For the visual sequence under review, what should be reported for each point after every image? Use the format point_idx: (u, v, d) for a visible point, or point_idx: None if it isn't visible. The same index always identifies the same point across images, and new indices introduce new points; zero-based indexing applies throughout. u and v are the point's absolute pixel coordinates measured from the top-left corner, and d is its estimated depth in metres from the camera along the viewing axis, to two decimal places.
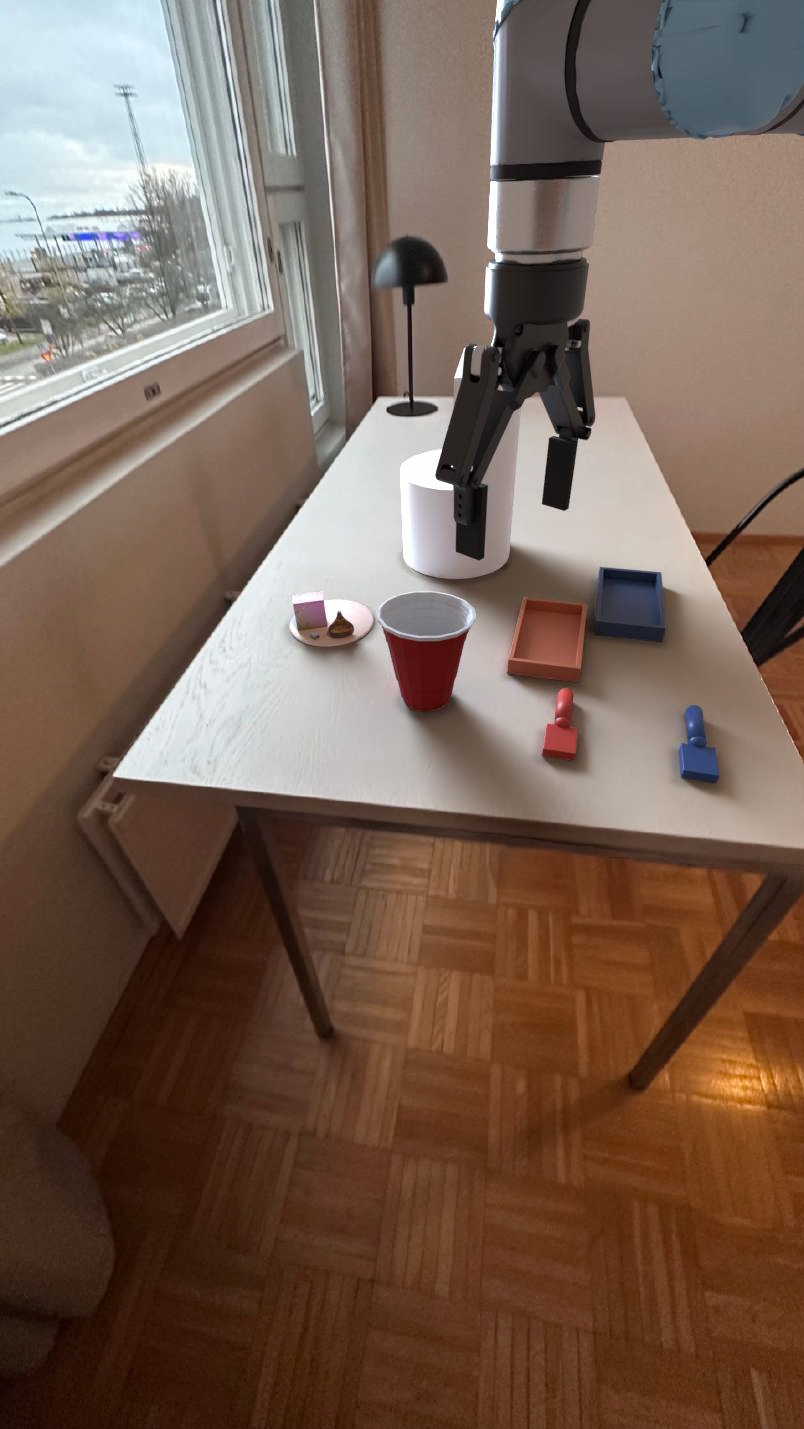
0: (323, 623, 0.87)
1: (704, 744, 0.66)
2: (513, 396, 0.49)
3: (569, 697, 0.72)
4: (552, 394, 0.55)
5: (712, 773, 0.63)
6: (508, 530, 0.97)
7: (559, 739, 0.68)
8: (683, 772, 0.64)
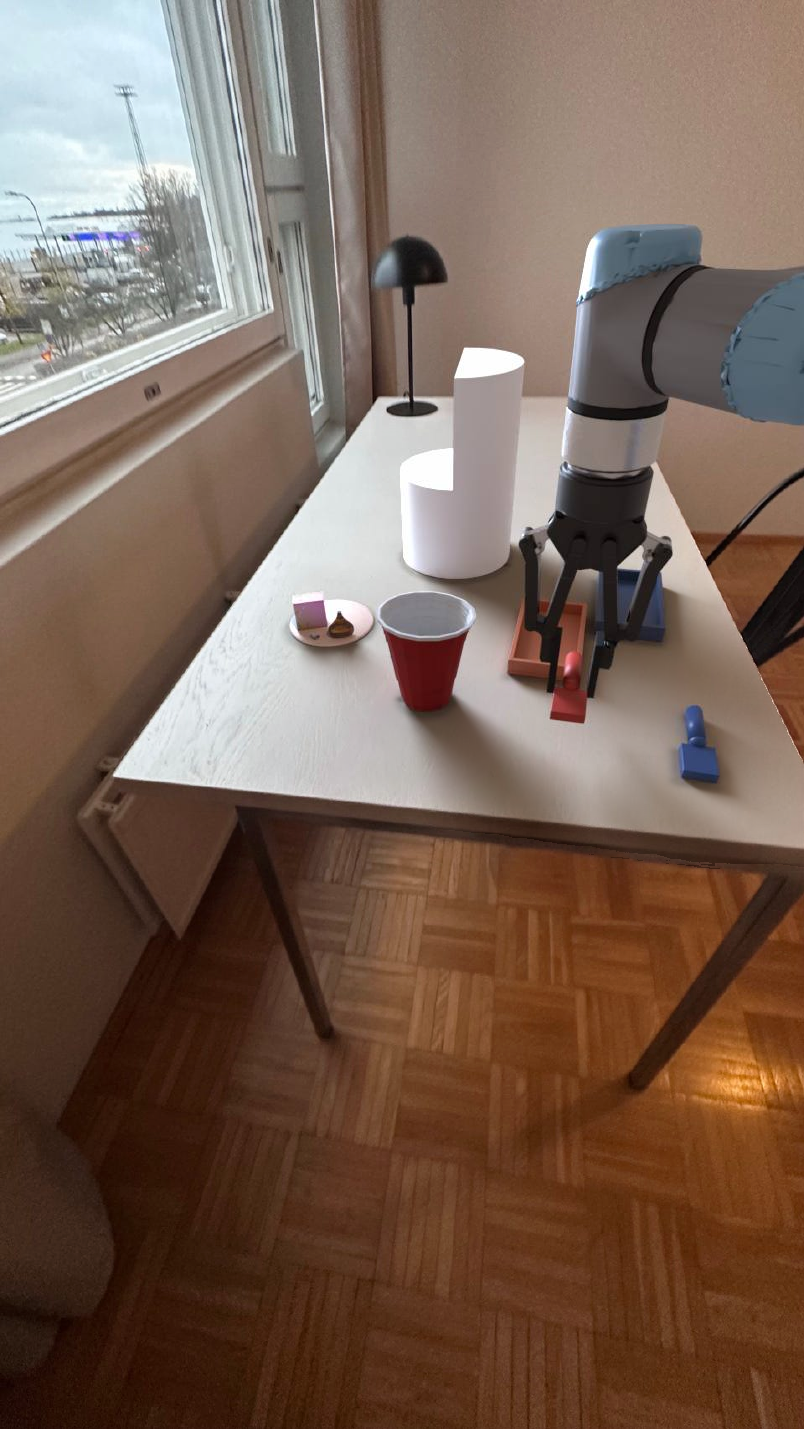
0: (323, 623, 0.87)
1: (704, 744, 0.66)
2: (561, 573, 0.57)
3: (578, 660, 0.68)
4: None
5: (712, 773, 0.63)
6: (508, 530, 0.97)
7: (568, 702, 0.64)
8: (683, 772, 0.64)
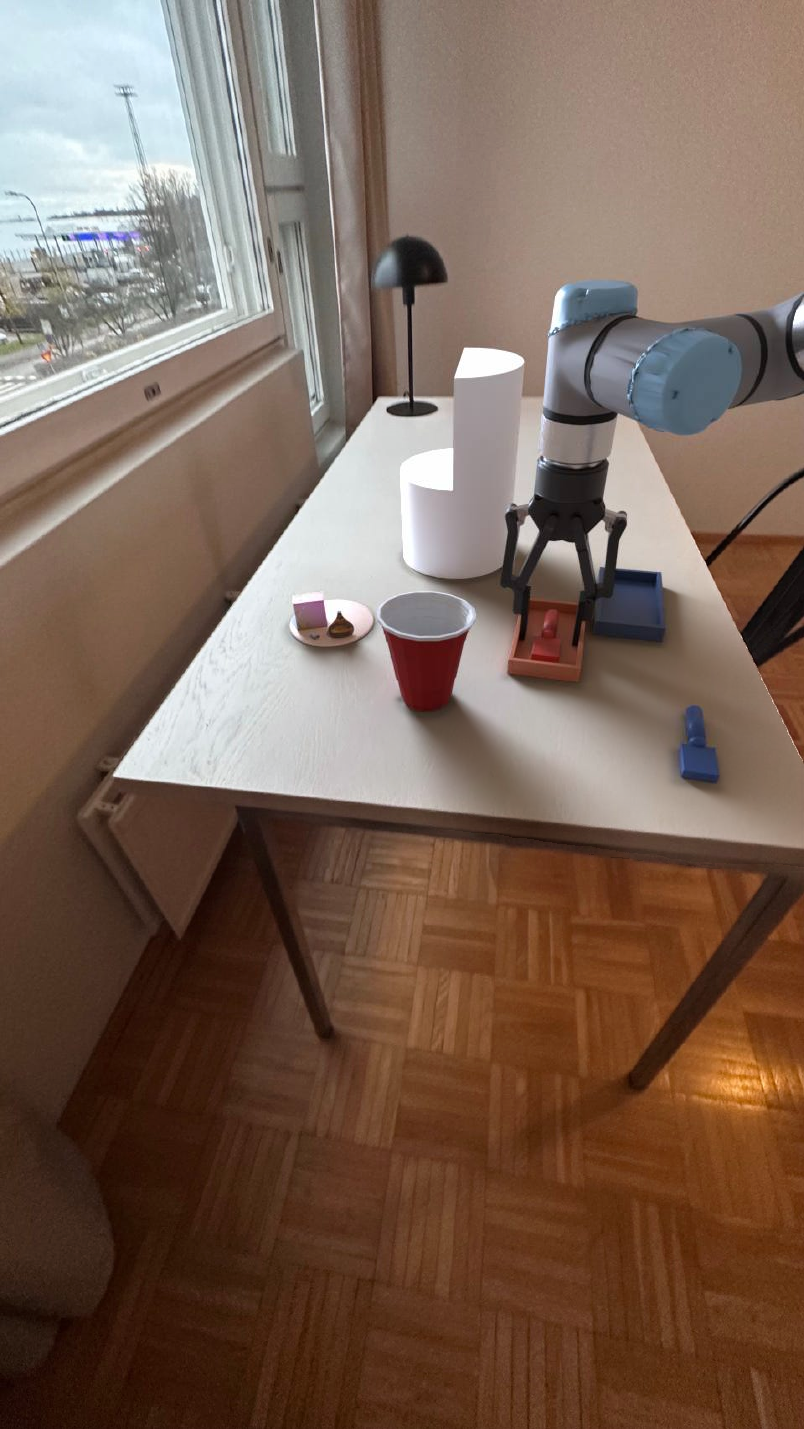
0: (323, 623, 0.87)
1: (704, 744, 0.66)
2: (536, 542, 0.73)
3: (555, 615, 0.84)
4: None
5: (712, 773, 0.63)
6: None
7: (545, 647, 0.80)
8: (683, 772, 0.64)
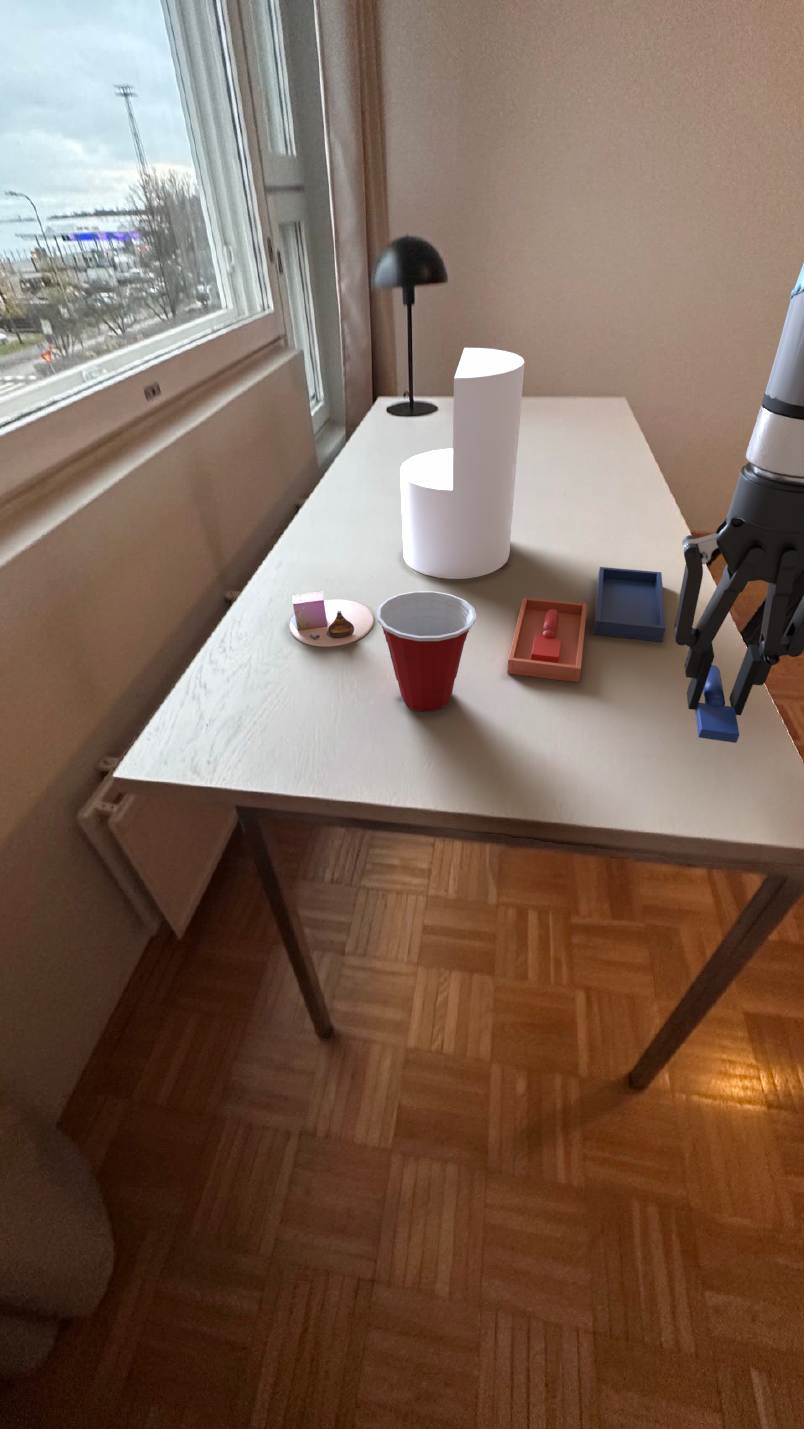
0: (323, 623, 0.87)
1: (722, 703, 0.62)
2: (728, 584, 0.54)
3: (555, 615, 0.84)
4: (770, 595, 0.55)
5: (731, 732, 0.59)
6: (508, 530, 0.97)
7: (545, 647, 0.80)
8: (701, 731, 0.60)
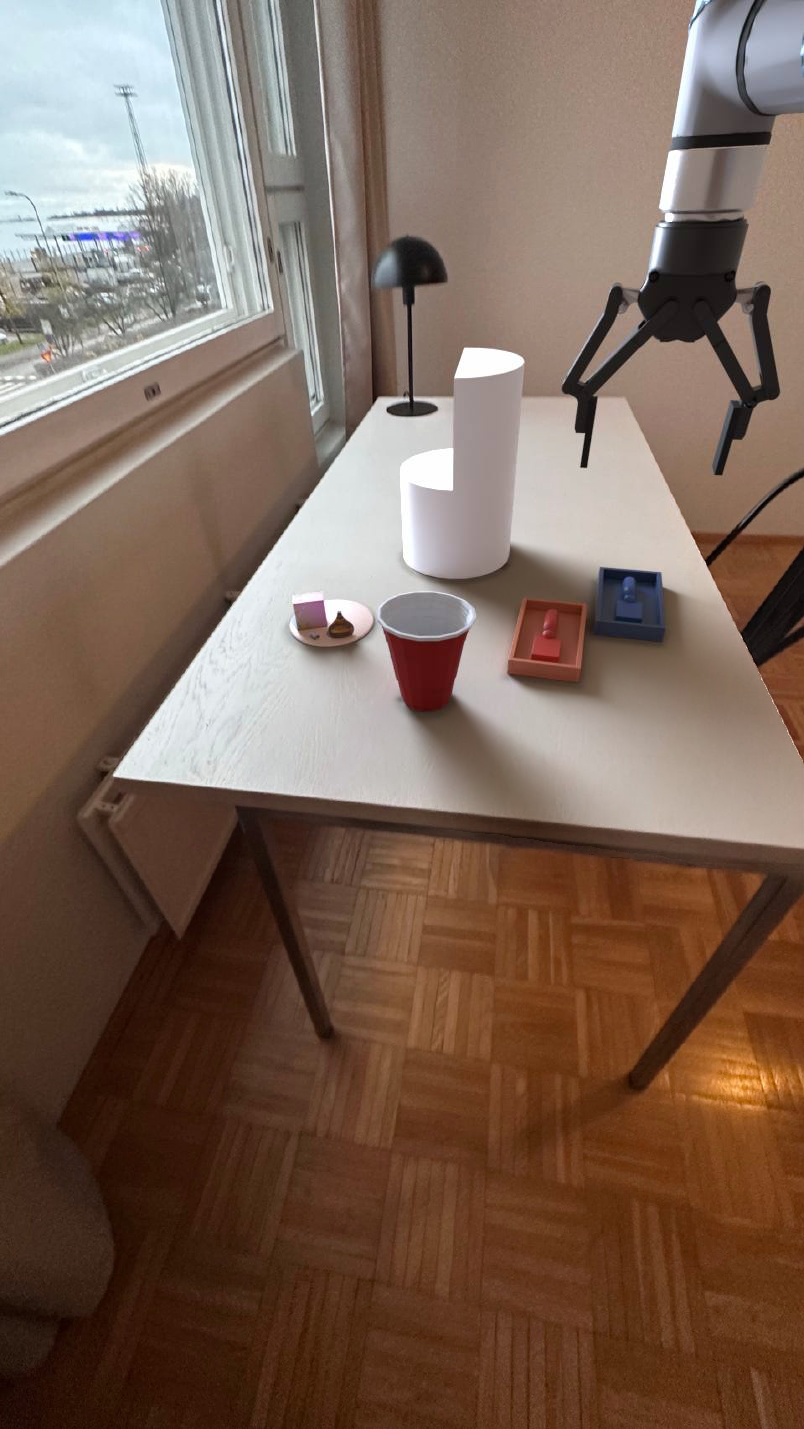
0: (323, 623, 0.87)
1: (634, 600, 0.87)
2: (636, 333, 0.59)
3: (555, 615, 0.84)
4: None
5: (637, 617, 0.84)
6: (508, 530, 0.97)
7: (545, 647, 0.80)
8: (616, 617, 0.85)
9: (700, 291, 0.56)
